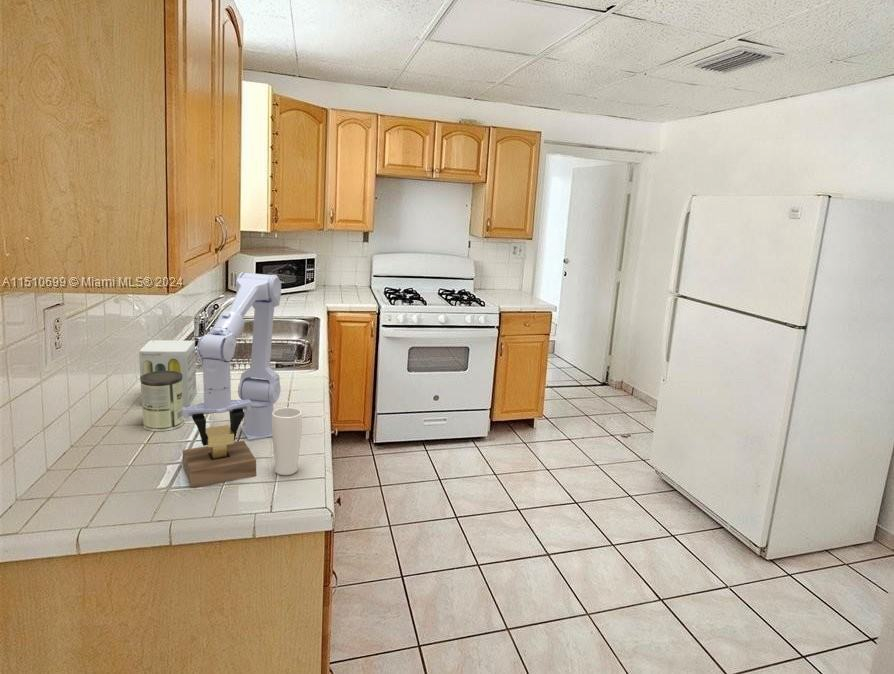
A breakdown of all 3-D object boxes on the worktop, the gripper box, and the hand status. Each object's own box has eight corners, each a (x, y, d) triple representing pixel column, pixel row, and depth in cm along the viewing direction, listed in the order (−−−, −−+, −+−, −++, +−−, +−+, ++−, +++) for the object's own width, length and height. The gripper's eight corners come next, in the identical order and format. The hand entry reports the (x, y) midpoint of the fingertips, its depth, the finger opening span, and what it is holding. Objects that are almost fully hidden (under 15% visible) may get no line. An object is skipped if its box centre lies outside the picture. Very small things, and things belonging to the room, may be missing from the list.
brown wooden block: (183, 465, 134) (182, 450, 133) (243, 455, 142) (243, 440, 141) (191, 488, 125) (190, 471, 124) (256, 475, 132) (256, 459, 131)
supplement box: (140, 407, 167) (137, 350, 163) (152, 392, 180) (149, 339, 176) (189, 406, 170) (187, 350, 166) (197, 392, 183) (195, 340, 179)
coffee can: (145, 418, 159) (142, 371, 156) (185, 416, 163) (183, 369, 160) (140, 433, 150) (137, 382, 147) (183, 430, 154) (181, 380, 151)
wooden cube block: (203, 452, 133) (203, 428, 132) (228, 448, 136) (228, 424, 135) (208, 461, 128) (208, 437, 127) (233, 457, 132) (234, 433, 130)
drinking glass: (271, 478, 131) (271, 418, 128) (271, 465, 138) (271, 407, 134) (301, 476, 133) (302, 417, 130) (300, 463, 139) (301, 406, 136)
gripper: (185, 395, 121) (187, 453, 124) (254, 387, 129) (254, 443, 132) (180, 385, 127) (182, 441, 130) (246, 379, 135) (247, 432, 138)
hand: (218, 441), depth 132 cm, fingers closed on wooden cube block, 6 cm apart
